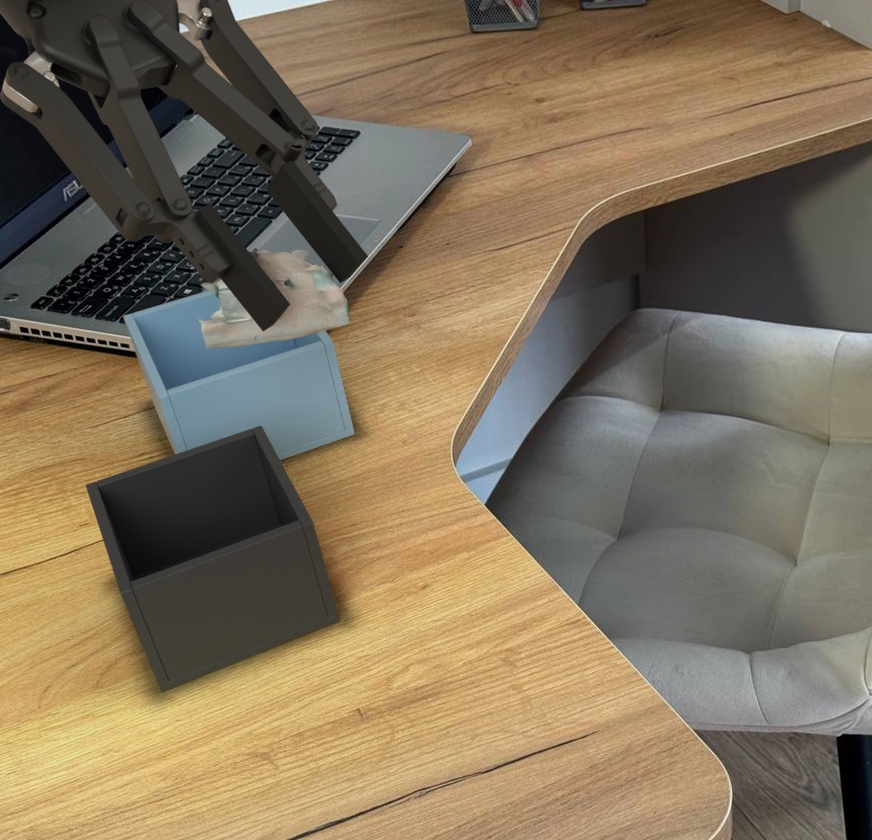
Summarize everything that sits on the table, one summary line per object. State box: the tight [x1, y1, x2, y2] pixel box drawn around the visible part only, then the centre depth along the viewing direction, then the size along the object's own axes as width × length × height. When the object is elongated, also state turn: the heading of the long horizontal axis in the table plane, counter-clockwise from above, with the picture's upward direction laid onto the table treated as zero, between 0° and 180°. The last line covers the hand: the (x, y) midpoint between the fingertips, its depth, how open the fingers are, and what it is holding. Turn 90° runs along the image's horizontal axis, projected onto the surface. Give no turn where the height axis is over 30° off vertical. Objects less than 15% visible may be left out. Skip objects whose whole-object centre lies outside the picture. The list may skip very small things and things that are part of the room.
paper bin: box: [122, 290, 355, 461], centre depth 89 cm, size 11×11×8 cm
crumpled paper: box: [199, 247, 350, 349], centre depth 72 cm, size 4×8×7 cm, turn 104°
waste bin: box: [85, 426, 341, 693], centre depth 74 cm, size 10×10×8 cm
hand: (315, 292), depth 70 cm, fingers closed on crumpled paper, 5 cm apart
